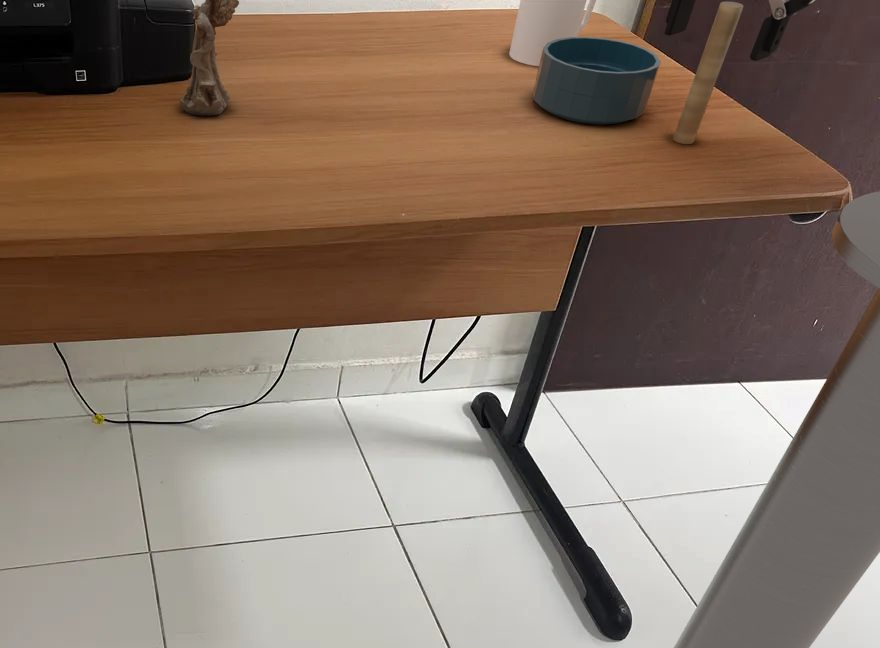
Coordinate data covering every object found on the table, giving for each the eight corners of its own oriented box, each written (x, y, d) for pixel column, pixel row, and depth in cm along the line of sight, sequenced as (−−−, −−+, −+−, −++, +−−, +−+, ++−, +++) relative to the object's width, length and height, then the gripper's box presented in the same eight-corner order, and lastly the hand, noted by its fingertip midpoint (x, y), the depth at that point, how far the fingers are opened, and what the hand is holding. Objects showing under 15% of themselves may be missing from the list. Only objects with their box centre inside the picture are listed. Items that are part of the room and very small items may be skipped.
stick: (697, 144, 100) (748, 7, 91) (679, 144, 100) (728, 7, 90) (687, 136, 102) (735, 1, 92) (669, 137, 101) (716, 1, 92)
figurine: (189, 94, 108) (187, -47, 98) (238, 98, 107) (241, -43, 97) (176, 117, 103) (173, -30, 92) (228, 121, 102) (230, -26, 92)
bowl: (663, 125, 104) (681, 71, 100) (558, 129, 102) (572, 74, 98) (612, 86, 113) (627, 35, 109) (515, 89, 112) (526, 38, 108)
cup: (604, 57, 122) (627, -25, 115) (538, 70, 117) (558, -15, 110) (561, 40, 127) (581, -40, 120) (496, 52, 122) (513, -31, 116)
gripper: (902, -142, 79) (813, 61, 91) (722, -168, 89) (662, 18, 101) (864, -134, 76) (777, 76, 87) (680, -163, 85) (623, 30, 97)
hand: (715, 45), depth 94 cm, fingers open, 9 cm apart
